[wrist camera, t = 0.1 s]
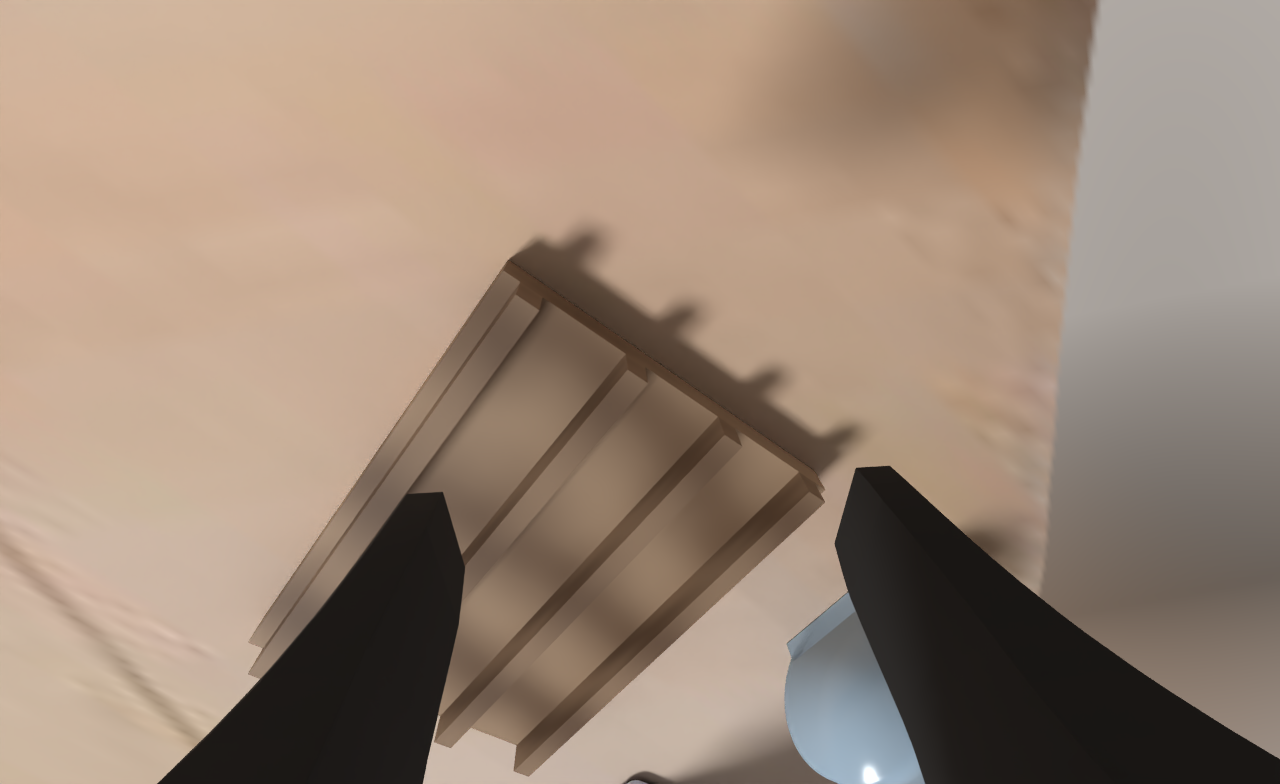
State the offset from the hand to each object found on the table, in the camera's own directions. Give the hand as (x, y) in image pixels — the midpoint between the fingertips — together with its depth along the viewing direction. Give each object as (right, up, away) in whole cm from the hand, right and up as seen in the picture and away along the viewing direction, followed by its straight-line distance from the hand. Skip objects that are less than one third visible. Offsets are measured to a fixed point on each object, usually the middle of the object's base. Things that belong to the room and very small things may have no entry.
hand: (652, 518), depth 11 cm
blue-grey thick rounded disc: (+9, -8, +17) cm, 21 cm away
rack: (-5, -4, +14) cm, 15 cm away
